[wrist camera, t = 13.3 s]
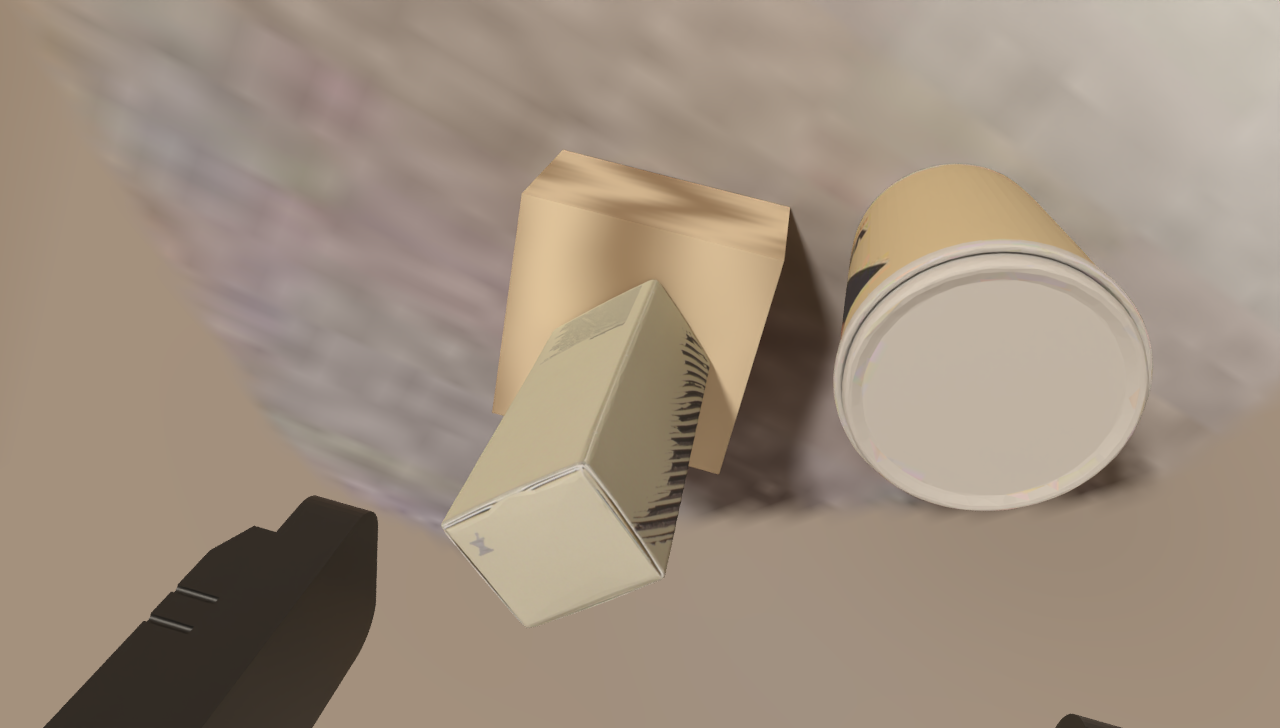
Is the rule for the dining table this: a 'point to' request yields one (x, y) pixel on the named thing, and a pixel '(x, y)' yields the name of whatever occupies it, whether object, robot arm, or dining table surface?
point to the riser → (644, 272)
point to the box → (587, 462)
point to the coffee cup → (983, 346)
